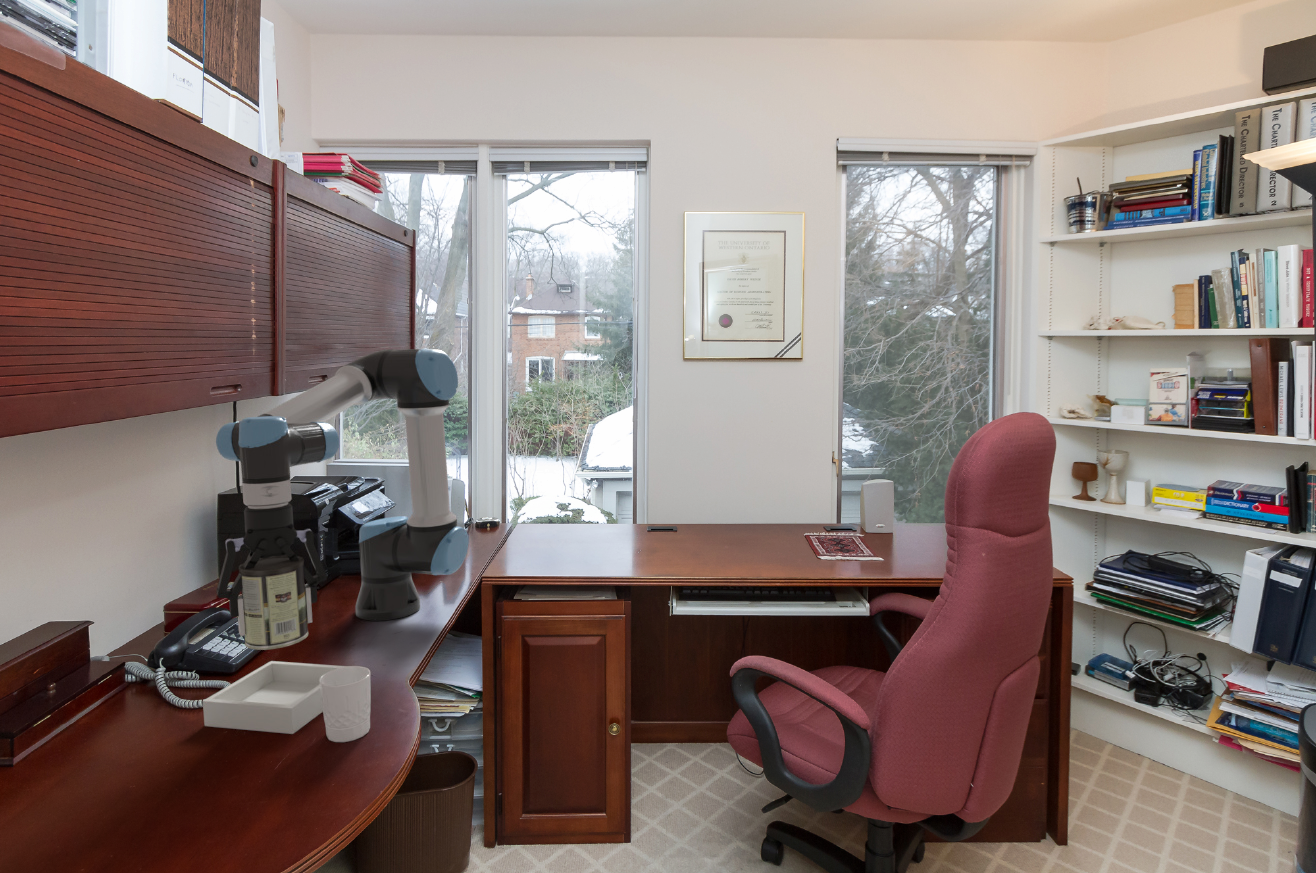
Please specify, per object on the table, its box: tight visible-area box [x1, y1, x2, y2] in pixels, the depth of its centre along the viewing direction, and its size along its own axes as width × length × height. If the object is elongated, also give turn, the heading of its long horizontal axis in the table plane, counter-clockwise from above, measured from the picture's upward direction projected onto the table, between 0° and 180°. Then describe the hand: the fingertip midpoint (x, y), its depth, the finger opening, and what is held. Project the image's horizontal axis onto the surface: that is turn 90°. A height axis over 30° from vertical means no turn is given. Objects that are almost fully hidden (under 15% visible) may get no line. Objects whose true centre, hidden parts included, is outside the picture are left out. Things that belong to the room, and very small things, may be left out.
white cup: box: [319, 665, 372, 743], centre depth 125 cm, size 8×8×10 cm
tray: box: [202, 660, 348, 735], centre depth 134 cm, size 17×17×4 cm
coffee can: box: [238, 554, 309, 651], centre depth 132 cm, size 10×10×14 cm
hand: (276, 626), depth 133 cm, fingers closed on coffee can, 10 cm apart
